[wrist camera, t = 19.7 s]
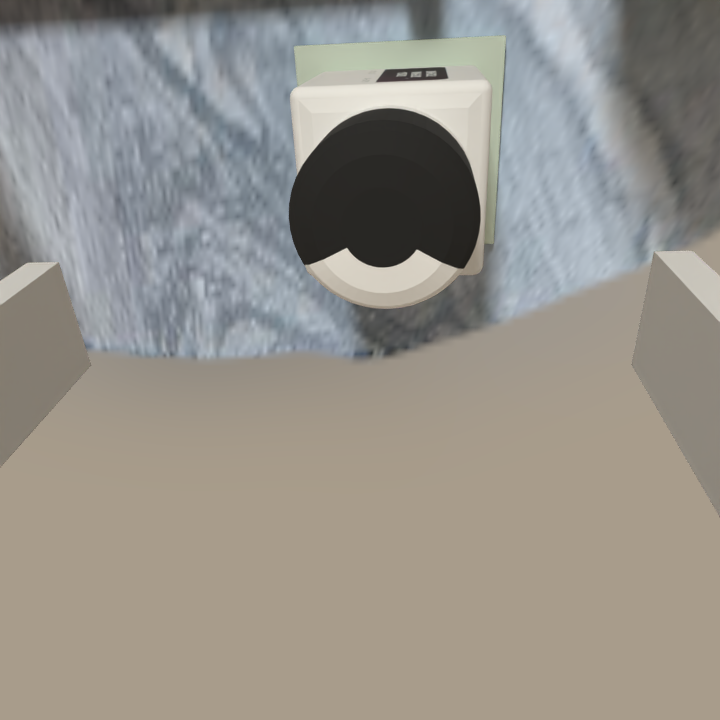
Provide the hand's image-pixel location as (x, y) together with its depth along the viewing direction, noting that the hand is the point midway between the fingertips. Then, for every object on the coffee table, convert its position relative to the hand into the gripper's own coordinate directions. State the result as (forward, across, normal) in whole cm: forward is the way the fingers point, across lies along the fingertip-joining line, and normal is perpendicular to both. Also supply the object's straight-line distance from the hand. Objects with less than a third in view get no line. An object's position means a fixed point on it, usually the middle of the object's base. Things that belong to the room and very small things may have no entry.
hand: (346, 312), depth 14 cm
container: (+20, +1, -1) cm, 20 cm away
